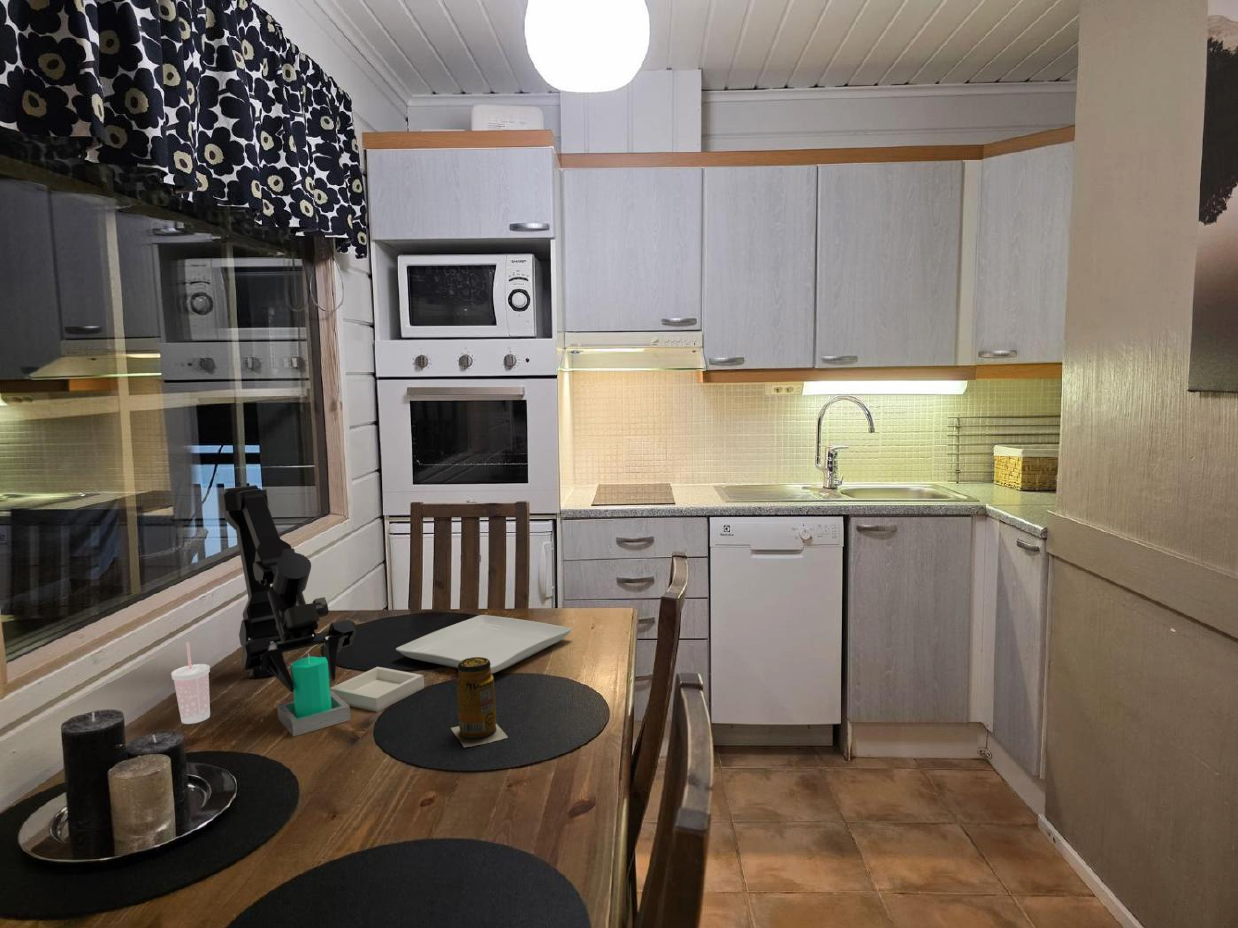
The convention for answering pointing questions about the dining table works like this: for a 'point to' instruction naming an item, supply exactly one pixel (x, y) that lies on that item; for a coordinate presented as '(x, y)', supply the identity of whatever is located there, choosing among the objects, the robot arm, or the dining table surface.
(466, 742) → the condiment
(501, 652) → the square plate
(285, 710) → the steel collar
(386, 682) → the tray
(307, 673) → the candle
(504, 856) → the dining table surface
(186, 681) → the beverage cup
